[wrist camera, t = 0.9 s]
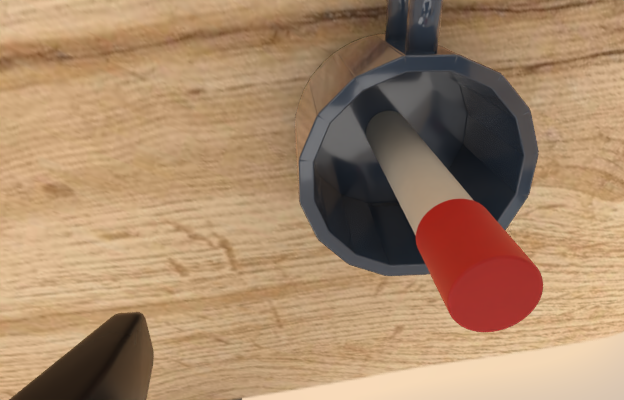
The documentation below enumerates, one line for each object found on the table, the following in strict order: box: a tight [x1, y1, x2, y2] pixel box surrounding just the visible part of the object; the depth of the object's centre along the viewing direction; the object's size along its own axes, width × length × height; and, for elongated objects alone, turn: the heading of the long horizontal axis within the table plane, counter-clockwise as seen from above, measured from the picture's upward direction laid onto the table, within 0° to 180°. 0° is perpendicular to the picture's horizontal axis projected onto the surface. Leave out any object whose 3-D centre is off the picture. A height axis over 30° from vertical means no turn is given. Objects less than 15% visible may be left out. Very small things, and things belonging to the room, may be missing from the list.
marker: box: [366, 111, 543, 332], centre depth 14 cm, size 2×2×11 cm
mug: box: [295, 0, 539, 276], centre depth 16 cm, size 11×8×6 cm
